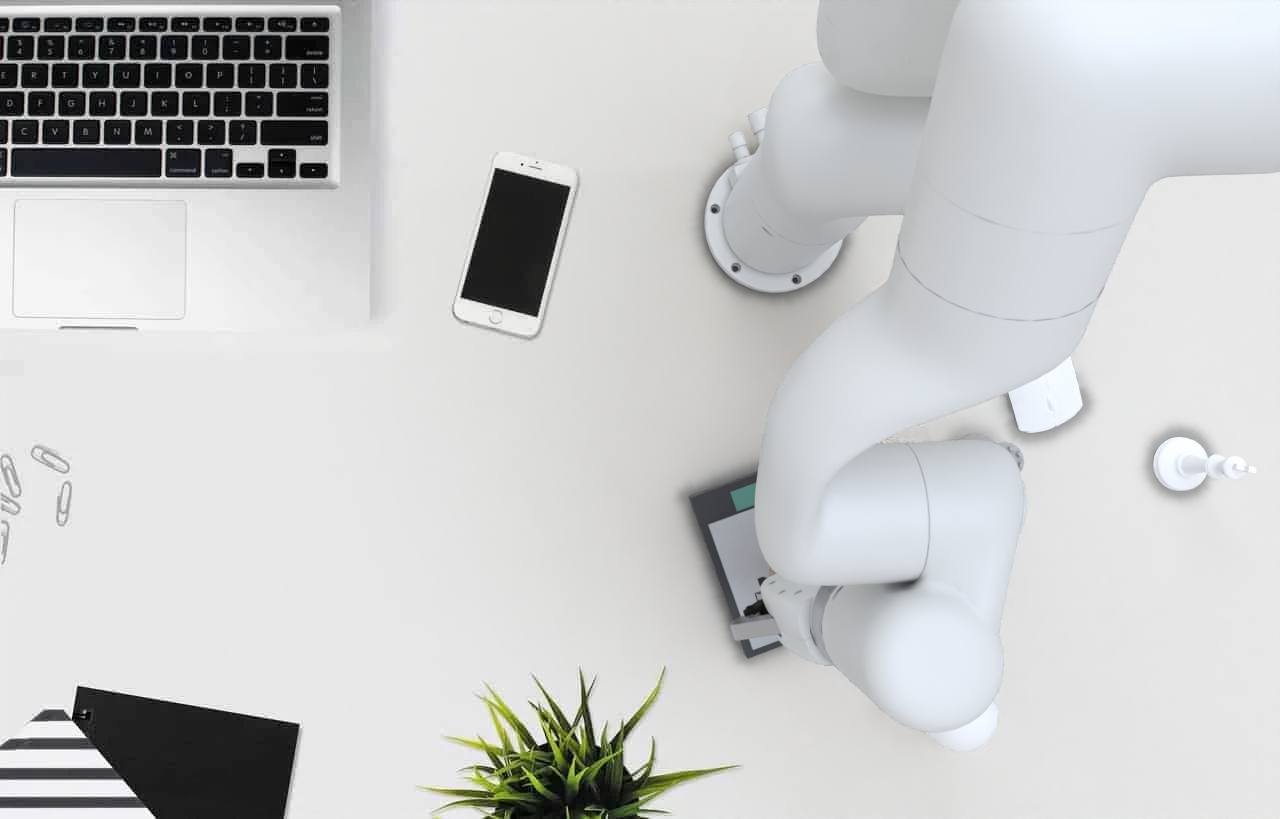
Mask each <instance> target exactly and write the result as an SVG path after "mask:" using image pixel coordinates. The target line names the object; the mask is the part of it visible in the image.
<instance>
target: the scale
mask: <svg viewBox="0 0 1280 819" xmlns="http://www.w3.org/2000/svg"><path fill="white" fill-rule="evenodd" d="M757 474H758V471H756V472H753V473H750V474H747V475H744V476H741V477H739V478H736V479H733V480H731V481H728V482H725V483H722V484H719V485H716V486H714V487H711V488H709V489H706V490H703V491H701V492H697V493H695V494H692V495H689V496H688V500H689V503H690V506H691V509H692V511H693V515H694V517H695V520H696V523H697V526H698V529H699V531H700V534H701V537H702V540H703V542H704V545H705V548H706V551H707V554H708V556H709V560H710V562H711V565H712V568H713V571H714V574H715V576H716V579H717V582H718V585H719V587H720V590H721V593H722V596H723V599H724V602H725V604H726V607H727V610H728V614H729V616H730V619H731V622H733V621H734V620H736V619H737V618H738V617H740V616H744V613H743V610H745V609H746V607H747V606H749V605H752V604H754V603H755V602H757V600H756V597H755V593H756V592H759V591H761V590H760V585H759V583H758V578H761V577H763V576H764V577H767V578H768V577H769V569H770V566H769V564H768V563H767V561H766V560H765V558H764V556H763V554H762V551H761V549H760V546H759V543H758V539H757V534H756V527H755V489H756V482H757ZM738 642H739V644H740V646H741V649H742V652H743V655H744V656H745V658H746V659H750V658H753V657H756V656H759V655H761V654H762V655H763V654H764V653H767V652H770V651H772V650H775V649H778V648H781V647H784V645H783V644H781V642H780V641H779V640H778V637H777V635H771V636H765V637H758V638H752V639H745V640H739V641H738Z"/></svg>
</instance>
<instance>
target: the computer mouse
mask: <svg viewBox="0 0 1280 819" xmlns="http://www.w3.org/2000/svg"><path fill="white" fill-rule="evenodd" d="M1076 374H1077V373H1076V371H1075V366H1074V364H1073V360H1072V356H1071V355H1070V356H1069V357H1068V358H1067V359H1066V360H1065V361H1064V362H1062V363H1061V364H1060V365H1059V366H1057V367H1056V368H1055V369H1053V370H1052V371H1050V372H1048V373H1047V374H1045V375H1043V376H1041V377H1040V378H1038V379H1036V380H1034V381H1032V382H1029V383H1027V384H1025V385H1023V386H1021V387H1019V388H1017V389H1015V390H1012V391H1010V392H1008V393H1007V394H1008V397H1009V400H1010V403H1011V405H1012V410H1013V414H1014V418H1015V421H1016V425H1017V428H1018V431H1020V432H1022V433H1023V432H1025V433H1026V434H1036V433H1040V432H1041V433H1042V432H1046V431H1049V430H1051V429H1054V428H1055V427H1059V426H1061V425H1062V424H1064V423H1066V422H1068V421H1070V420H1071V419H1072V418H1073V417H1074V416H1076V415H1077V414H1078V412H1080V411H1081V409H1082V407H1084V406H1083V404H1084V403H1083V400H1082V395H1081V391H1080V386H1079V382H1078V379H1077V378H1078V377H1077V375H1076Z"/></svg>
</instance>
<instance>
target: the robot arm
mask: <svg viewBox="0 0 1280 819" xmlns="http://www.w3.org/2000/svg"><path fill="white" fill-rule="evenodd" d="M817 8H818V9H817V16H816V43H817V50H818V53H819V56H820V58H821V59H820V61H815V62H810V63H806V64H804V65H801V66H798V67H797V68H794V69H792V70H791V71H790V72H788V73H787V74H786V75H785V76H783V78H781V80H780V82H779V83H778V84H777V86H776V87H775V89H774V91H773V93H772V95H771V97H770V100H769V104H768V107H767V106H766V107H761V108H758V109H755V110H753V111H751V112H750V113H748V114H747V116H746V117H747V120H748V122H749V125H750V128H751V130H752V133H753V135H754V137H755V139H756V142H757V144H758V148H756V151H755V152H754V153H752V154H750V151H749V148H748V143H747V139H746V137H745V135H744V132H743V130H738V131H736V132H733V133H731V134H729V135H728V136H727V138H728V141H729V144H730V146H731V150H732V152H733V154H734V156H735V160H736V161H735V162H734V163H733V164H732V165H730V166H729V167H728V168H727V169H726V170H725V171H724V172H723V173H722V175H721V176H720V177H718V179H717V180H716V182H715V184H714V185H713V188H712V189H711V191H710V193H709V196H708V198H707V202H706V205H705V210H704V217H703V218H704V219H703V220H704V222H703V223H704V224H703V227H704V234H705V240H706V243H707V246H708V247H709V252H710V254H711V255H712V257H713V258H714V260H715V262H716V263H717V265H718V266H719V267H720V269H722V271H723V272H724V273H725V275H726V276H728V277H730V278H731V279H732V280H734V281H735V282H736V283H737V284H740V285H742V286H744V287H746V288H748V289H750V290H754V291H757V292H760V293H770V294H778V293H779V294H780V293H788V292H792V291H796V290H800V289H801V288H803V287H806V286H808V285H809V284H811V283H813V282H814V281H815V280H817V279H818V278H820V277H821V276H822V275H823V274H824V273H825V272H826V271H828V270H829V269H830V267H831V265H832V264H833V263H834V261H835V260H836V259H837V257H838V255H839V253H840V251H841V248H842V246H843V243H844V239H845V238H846V237H848V235H850V234H851V233H852V232H854V231H855V230H857V229H858V228H859V227H860V226H861V225H862V224H863V223H864V222H865V221H866V220H867V219H868V218H869V217H875V216H876V217H877V216H878V217H879V216H903V217H902V221H901V225H900V230H899V233H898V237H897V240H896V246H895V250H894V255H893V259H892V264H891V269H890V273H889V276H888V278H887V280H886V281H885V282H884V283H883V284H882V285H881V286H880V287H878V288H877V289H875V290H873V292H871V293H870V294H868V295H866V296H865V297H864V298H863V299H861V300H860V301H858V302H857V303H856V304H854V305H853V306H852V307H850V308H849V309H848V310H846V311H845V312H844V313H843V314H842V315H841V316H839V317H838V318H837V319H836V320H835V321H834V322H833V323H832V324H830V325H829V326H828V327H827V328H826V329H825V330H824V331H823V332H822V333H821V334H820V335H819V336H818V337H817V338H816V339H814V341H813V342H812V343H811V344H810V345H809V346H808V347H807V349H805V350H804V352H802V354H801V355H800V356H799V357H798V358H797V359H796V360H795V362H794V363H793V364H792V366H791V367H790V368H789V369H788V371H787V372H786V374H785V375H784V376H783V378H782V379H781V381H780V383H779V385H778V387H777V388H776V390H775V392H774V394H773V396H772V398H771V401H770V403H769V407H768V409H767V410H768V411H767V414H766V417H765V423H764V429H763V435H762V441H761V447H760V454H759V460H758V466H757V472H758V474H757V482H756V489H755V527H756V534H757V539H758V543H759V546H760V549H761V551H762V554H763V556H764V558H765V560H766V561H767V563H768V564H769V566H770V567H771V568H772V570H773V571H775V572H776V574H774V575H772V576H770V577H768V578H767V577H764V576H763V577H761V578H758V583H759V585H760V590H761V591H759V592H756V593H755V597H756V600H757V602H755V603H754V604H752V605H749V606H747V607H746V609H745V610H743V613H744V616H740V617H738V618H737V619H736V620H734V621H731V622H730V623H729V624H728V626H729V629H730V631H731V635H732V637H733V640H734V642H737V641H738V642H740V641H739V640H745V639H752V638H758V637H765V636H771V635H777V637H778V640H779V641H780V642H781V644H783V647H784V648H785V649H786V650H788V651H789V652H791V653H792V654H794V655H795V656H797V657H799V658H801V659H803V660H804V661H807V662H810V663H813V664H817V665H819V666H824V667H830V666H834V668H835V669H836V670H838V671H839V672H840V673H841V674H842V675H843V676H844V677H845V678H846V679H847V680H849V682H850V683H852V684H853V685H854V686H855V688H857V689H858V690H859V691H860V692H861V693H862V694H863V695H864V696H865V697H866V698H867V699H868V700H870V701H871V702H872V704H874V705H875V706H876V707H877V708H878V709H879V711H881V712H882V713H884V714H885V715H886V716H887V717H889V718H890V719H892V720H893V721H894V722H895V723H897V724H899V725H901V726H903V727H904V728H908V729H910V730H913V731H917V732H924V733H927V732H930V733H936V732H947V731H951V730H955V729H958V728H961V727H963V726H965V725H967V724H969V723H971V722H972V721H974V720H975V719H977V718H978V717H980V716H981V715H982V714H983V713H984V712H985V711H986V710H987V708H988V707H989V706H990V705H991V703H992V702H993V700H994V699H996V697H997V695H998V692H999V690H1000V689H1001V686H1002V682H1003V678H1004V671H1005V655H1004V654H1005V653H1004V647H1003V643H1002V641H1001V640H1002V639H1001V636H1000V631H1001V625H1002V620H1003V615H1004V614H1003V613H1004V608H1005V602H1006V598H1007V592H1008V587H1009V583H1010V579H1011V575H1012V569H1013V566H1014V562H1015V557H1016V552H1017V547H1018V543H1019V538H1020V535H1021V534H1022V532H1023V529H1024V526H1025V522H1026V519H1027V511H1028V495H1027V489H1026V486H1025V482H1024V480H1023V478H1022V474H1021V472H1020V470H1019V468H1018V465H1017V463H1016V461H1015V459H1014V458H1013V456H1012V455H1011V454H1010V453H1009V452H1008V451H1007V450H1006V449H1005V448H1003V447H1002V446H1000V445H998V444H996V443H997V442H996V443H992V442H988V441H983V440H959V439H952V440H951V439H950V440H949V439H948V440H931V441H930V440H927V441H926V440H925V441H909V442H907V441H906V442H886V443H883V441H885V440H887V439H889V438H891V437H893V436H895V435H898V434H901V433H903V432H905V431H907V430H910V429H912V428H915V427H919V426H921V425H923V424H927V423H930V422H933V421H935V420H939V419H942V418H945V417H947V416H949V415H953V414H955V413H959V412H961V411H964V410H967V409H970V408H973V407H976V406H979V405H981V404H983V403H986V402H989V401H991V400H993V399H996V398H999V397H1001V396H1003V395H1005V394H1008V392H1010V391H1012V390H1015V389H1017V388H1019V387H1021V386H1023V385H1025V384H1027V383H1029V382H1032V381H1034V380H1036V379H1038V378H1040V377H1041V376H1043V375H1045V374H1047V373H1048V372H1050V371H1052V370H1053V369H1055V368H1056V367H1057V366H1059V365H1060V364H1061V363H1062V362H1064V361H1065V360H1066V359H1067V358H1068V357H1069V356H1071V355H1072V354H1073V353H1074V352H1075V351H1076V350H1077V348H1078V346H1079V345H1080V343H1081V341H1082V340H1083V338H1084V336H1085V334H1086V331H1087V329H1088V326H1089V323H1090V322H1091V319H1092V317H1093V314H1094V311H1095V309H1096V307H1097V305H1098V302H1099V300H1100V298H1101V296H1102V294H1103V292H1104V289H1105V286H1106V284H1107V282H1108V279H1109V277H1110V275H1111V273H1112V271H1113V268H1114V266H1115V264H1116V261H1117V259H1118V257H1119V254H1120V253H1121V250H1122V248H1123V246H1124V243H1125V241H1126V239H1127V236H1128V235H1129V232H1130V230H1131V228H1132V225H1133V224H1134V221H1135V218H1136V217H1137V215H1138V212H1139V209H1140V207H1141V206H1142V204H1143V202H1144V200H1145V197H1146V195H1147V193H1148V191H1149V189H1150V188H1151V187H1152V186H1153V185H1154V184H1155V183H1157V182H1159V181H1160V180H1163V179H1167V178H1176V177H1177V178H1178V177H1201V176H1202V177H1203V176H1235V175H1236V176H1237V175H1239V176H1240V175H1264V174H1265V175H1266V174H1267V175H1268V174H1275V173H1276V174H1277V173H1280V0H819V3H818V7H817ZM713 209H714V210H716V212H713V211H712V210H713ZM733 267H735V268H736V271H734V270H733ZM793 279H796V282H794V281H793ZM881 442H882V443H881Z"/></svg>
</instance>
